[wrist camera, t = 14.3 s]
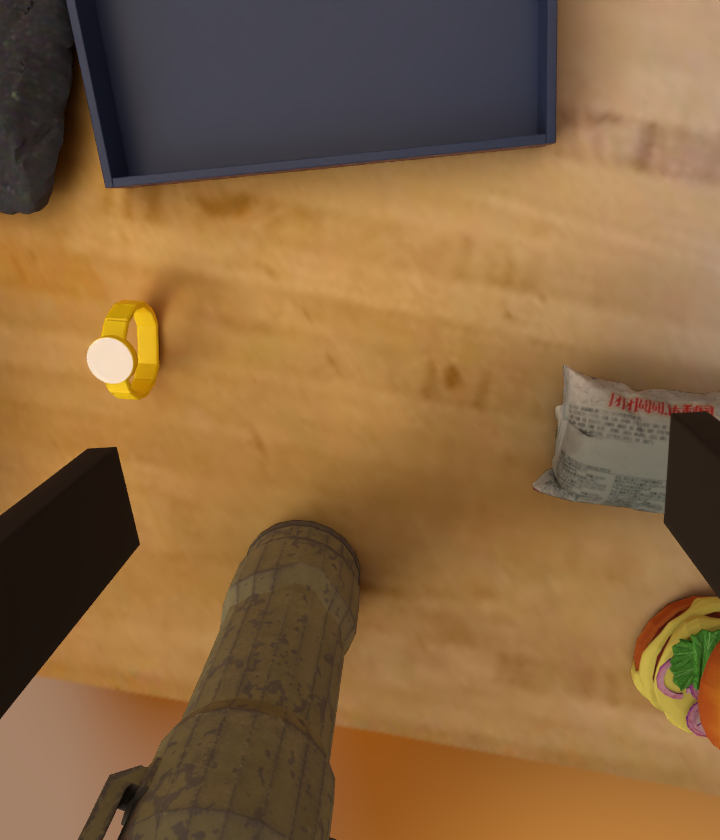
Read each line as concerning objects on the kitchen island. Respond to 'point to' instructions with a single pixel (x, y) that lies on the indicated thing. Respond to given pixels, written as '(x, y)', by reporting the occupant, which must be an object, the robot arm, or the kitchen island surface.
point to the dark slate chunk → (32, 99)
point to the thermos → (255, 706)
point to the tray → (310, 83)
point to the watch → (127, 351)
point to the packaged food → (615, 442)
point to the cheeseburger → (683, 665)
